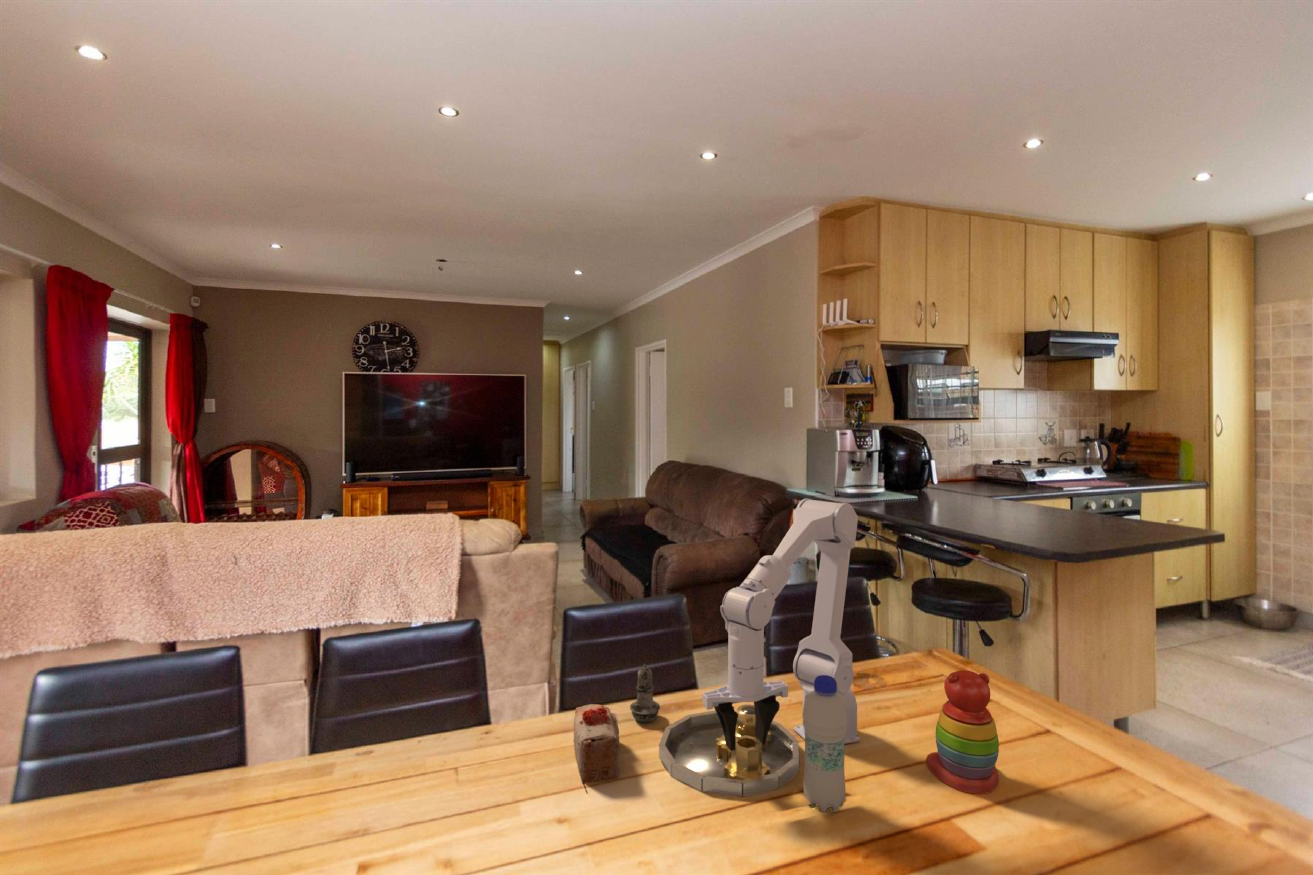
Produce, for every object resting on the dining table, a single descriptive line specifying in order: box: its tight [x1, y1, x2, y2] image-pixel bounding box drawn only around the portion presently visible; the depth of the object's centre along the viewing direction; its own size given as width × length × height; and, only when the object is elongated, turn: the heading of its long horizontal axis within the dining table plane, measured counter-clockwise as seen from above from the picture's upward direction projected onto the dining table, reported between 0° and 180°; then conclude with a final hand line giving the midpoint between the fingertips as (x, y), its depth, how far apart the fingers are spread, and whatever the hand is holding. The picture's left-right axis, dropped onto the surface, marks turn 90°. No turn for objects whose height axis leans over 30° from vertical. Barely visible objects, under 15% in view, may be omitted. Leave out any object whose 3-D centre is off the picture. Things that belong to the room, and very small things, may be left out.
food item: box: [573, 703, 621, 789], centre depth 109 cm, size 14×8×10 cm, turn 13°
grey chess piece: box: [629, 663, 661, 723], centre depth 123 cm, size 6×6×12 cm
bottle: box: [802, 675, 847, 813], centre depth 98 cm, size 7×7×20 cm
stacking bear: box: [925, 669, 1000, 795], centre depth 105 cm, size 11×10×18 cm
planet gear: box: [724, 735, 770, 780], centre depth 104 cm, size 7×7×5 cm
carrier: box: [658, 704, 801, 797], centre depth 110 cm, size 24×24×7 cm
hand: (745, 744), depth 104 cm, fingers open, 5 cm apart
